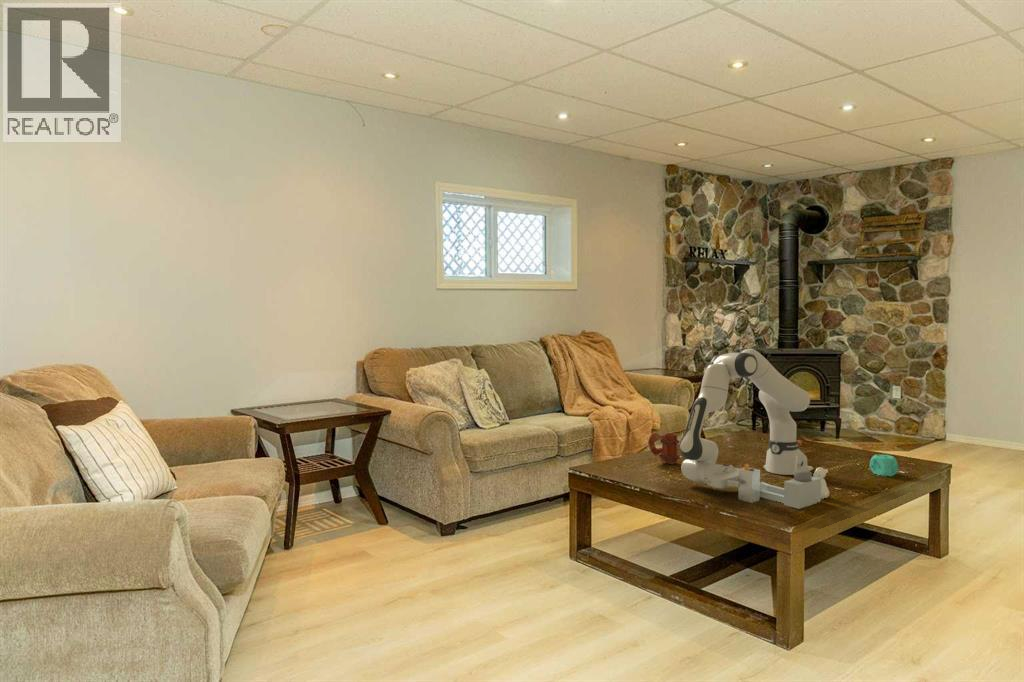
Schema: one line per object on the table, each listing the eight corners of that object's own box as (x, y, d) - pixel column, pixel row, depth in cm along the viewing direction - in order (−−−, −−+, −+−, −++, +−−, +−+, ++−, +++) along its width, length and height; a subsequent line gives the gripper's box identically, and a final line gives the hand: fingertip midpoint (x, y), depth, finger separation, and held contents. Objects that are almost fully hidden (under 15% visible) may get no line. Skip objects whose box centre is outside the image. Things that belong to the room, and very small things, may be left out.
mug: (678, 461, 325) (678, 430, 325) (681, 465, 317) (681, 434, 317) (647, 461, 327) (647, 430, 326) (649, 465, 319) (649, 433, 318)
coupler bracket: (762, 487, 279) (763, 458, 278) (820, 501, 259) (821, 470, 258) (740, 493, 270) (741, 464, 270) (798, 508, 250) (799, 476, 250)
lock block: (746, 497, 266) (746, 462, 265) (759, 500, 261) (760, 465, 260) (738, 499, 263) (738, 464, 262) (751, 503, 258) (752, 467, 257)
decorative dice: (885, 477, 294) (885, 459, 293) (869, 473, 301) (869, 455, 301) (898, 475, 297) (898, 457, 296) (882, 471, 304) (882, 453, 304)
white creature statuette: (816, 492, 272) (817, 462, 271) (836, 497, 264) (836, 467, 263) (800, 495, 267) (801, 465, 266) (820, 501, 259) (820, 470, 259)
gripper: (700, 471, 267) (730, 479, 256) (732, 464, 279) (762, 470, 268) (700, 487, 268) (730, 495, 257) (732, 479, 280) (761, 486, 269)
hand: (746, 482), depth 263 cm, fingers open, 8 cm apart
